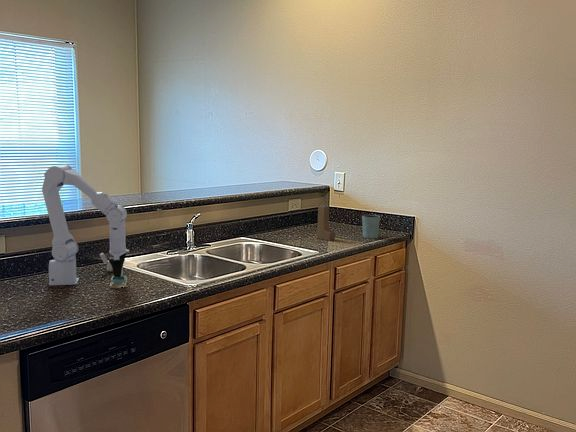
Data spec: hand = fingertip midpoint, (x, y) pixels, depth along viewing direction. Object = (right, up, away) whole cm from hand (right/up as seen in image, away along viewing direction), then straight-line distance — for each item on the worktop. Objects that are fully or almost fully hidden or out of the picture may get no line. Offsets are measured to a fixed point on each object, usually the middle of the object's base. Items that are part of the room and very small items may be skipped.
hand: (118, 274), depth 209 cm
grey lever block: (-10, -1, +19) cm, 21 cm away
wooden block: (+84, +9, +94) cm, 127 cm away
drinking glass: (+110, +10, +104) cm, 151 cm away
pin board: (0, -4, +1) cm, 4 cm away
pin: (0, -3, 0) cm, 3 cm away
